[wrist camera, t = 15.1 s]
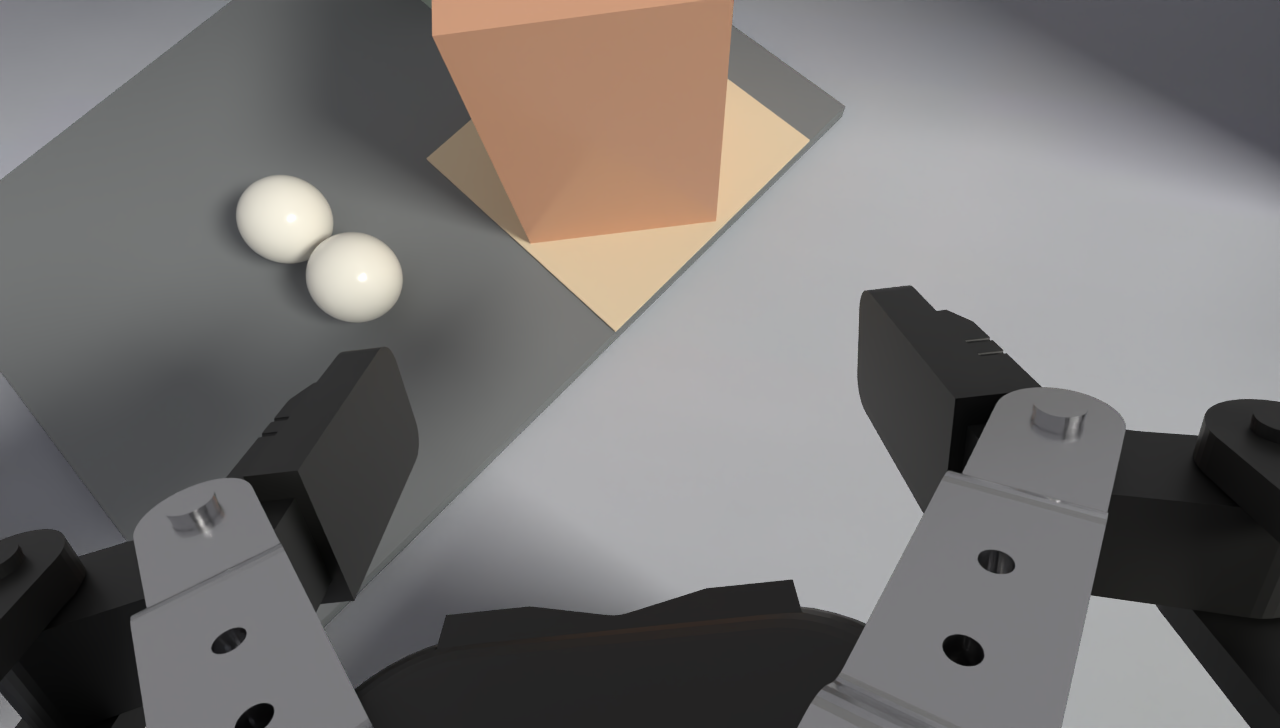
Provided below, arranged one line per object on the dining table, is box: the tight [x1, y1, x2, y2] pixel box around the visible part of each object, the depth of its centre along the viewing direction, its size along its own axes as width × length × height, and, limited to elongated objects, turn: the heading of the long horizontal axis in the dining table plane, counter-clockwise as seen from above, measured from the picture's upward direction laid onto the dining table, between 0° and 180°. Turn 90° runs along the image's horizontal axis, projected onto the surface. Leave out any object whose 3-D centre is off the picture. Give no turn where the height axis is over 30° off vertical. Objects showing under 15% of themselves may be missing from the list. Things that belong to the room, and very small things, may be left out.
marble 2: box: [306, 232, 403, 323], centre depth 23 cm, size 3×3×3 cm
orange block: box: [432, 0, 734, 244], centre depth 21 cm, size 7×7×10 cm
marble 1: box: [236, 175, 334, 264], centre depth 24 cm, size 3×3×3 cm
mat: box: [0, 0, 845, 628], centre depth 26 cm, size 28×22×1 cm
